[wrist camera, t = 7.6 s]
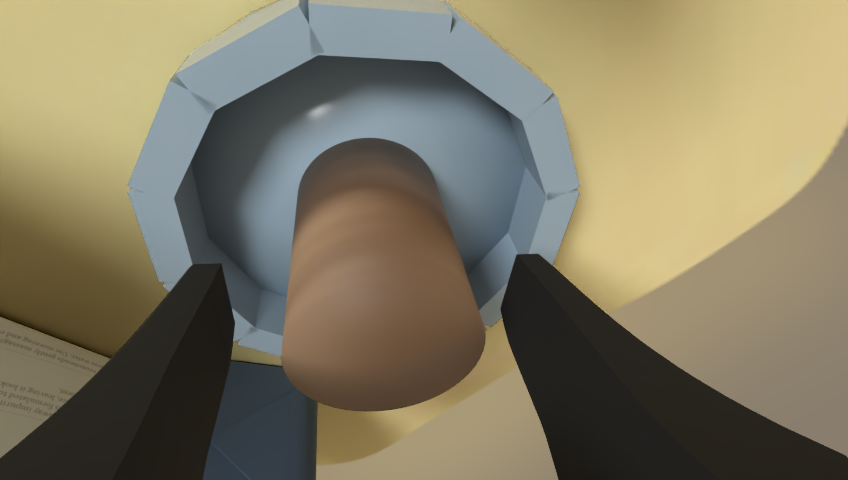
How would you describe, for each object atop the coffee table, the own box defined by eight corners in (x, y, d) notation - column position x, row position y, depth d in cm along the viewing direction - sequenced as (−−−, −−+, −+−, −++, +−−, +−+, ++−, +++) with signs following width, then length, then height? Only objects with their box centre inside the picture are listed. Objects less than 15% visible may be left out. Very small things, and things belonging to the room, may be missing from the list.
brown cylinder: (299, 253, 15) (286, 417, 11) (294, 133, 13) (274, 282, 8) (427, 253, 16) (464, 404, 12) (447, 141, 14) (506, 279, 9)
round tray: (206, 323, 17) (192, 376, 16) (104, -37, 10) (54, -17, 8) (502, 308, 20) (520, 353, 18) (594, 5, 12) (640, 28, 11)
